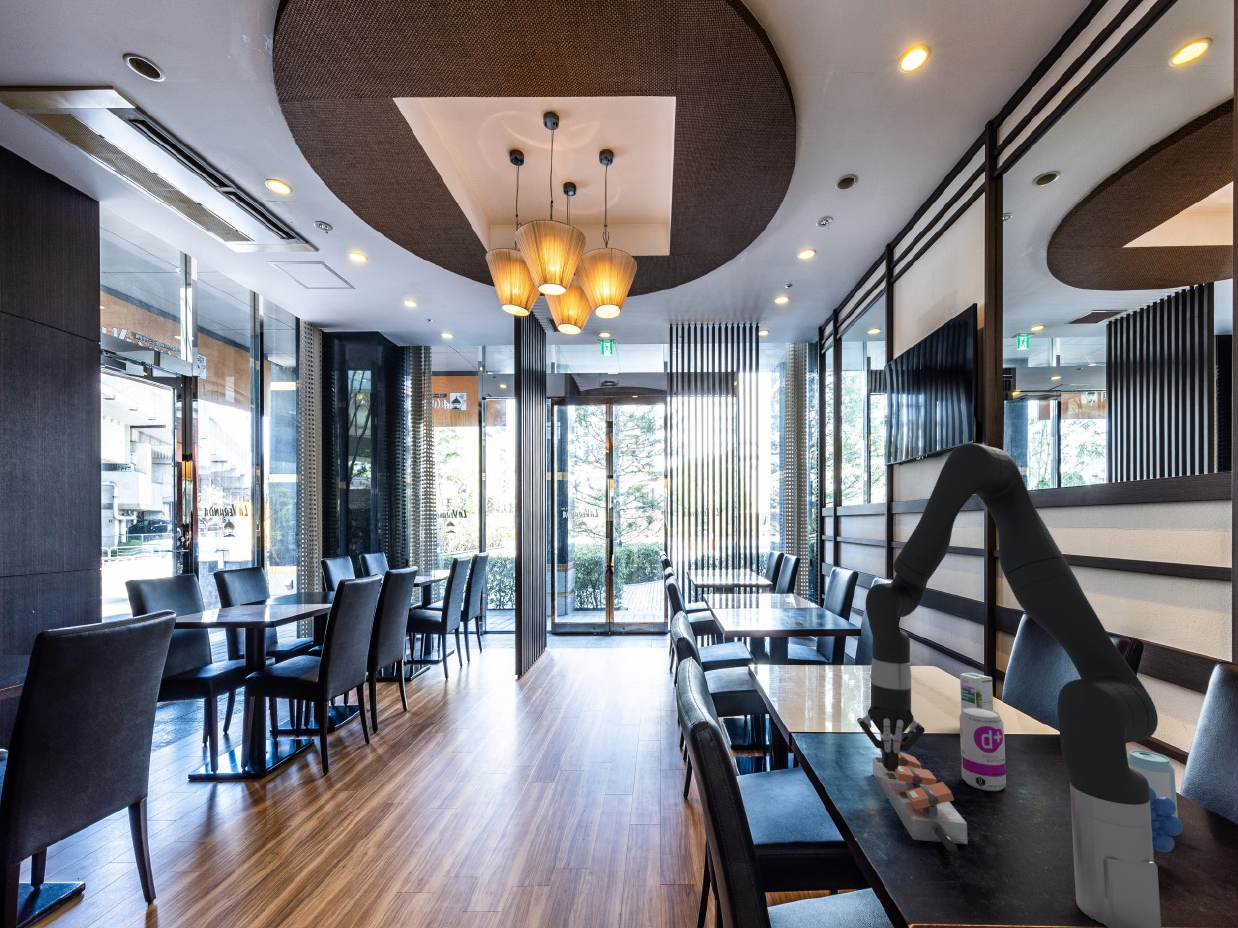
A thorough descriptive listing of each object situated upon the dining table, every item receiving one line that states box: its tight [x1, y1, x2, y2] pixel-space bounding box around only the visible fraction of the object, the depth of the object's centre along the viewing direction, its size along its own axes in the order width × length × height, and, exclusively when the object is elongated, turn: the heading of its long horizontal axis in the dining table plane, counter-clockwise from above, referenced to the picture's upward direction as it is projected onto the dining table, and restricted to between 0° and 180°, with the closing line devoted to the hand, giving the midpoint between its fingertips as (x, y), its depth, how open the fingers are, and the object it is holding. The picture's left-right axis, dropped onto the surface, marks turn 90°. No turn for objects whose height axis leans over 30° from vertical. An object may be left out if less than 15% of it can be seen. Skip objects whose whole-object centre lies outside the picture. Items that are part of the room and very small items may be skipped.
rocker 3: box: [906, 781, 955, 809], centre depth 113 cm, size 4×7×2 cm, turn 81°
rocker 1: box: [879, 748, 922, 769], centre depth 131 cm, size 4×7×2 cm, turn 81°
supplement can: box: [959, 707, 1007, 792], centre depth 132 cm, size 8×8×15 cm
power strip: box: [872, 756, 968, 856], centre depth 119 cm, size 34×9×4 cm, turn 171°
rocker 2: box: [893, 765, 937, 785], centre depth 122 cm, size 4×7×2 cm, turn 81°
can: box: [1127, 749, 1179, 819], centre depth 117 cm, size 7×7×12 cm
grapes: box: [1149, 787, 1184, 854], centre depth 105 cm, size 12×7×12 cm, turn 62°
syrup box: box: [959, 672, 994, 714], centre depth 166 cm, size 6×6×14 cm
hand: (890, 769), depth 123 cm, fingers closed
